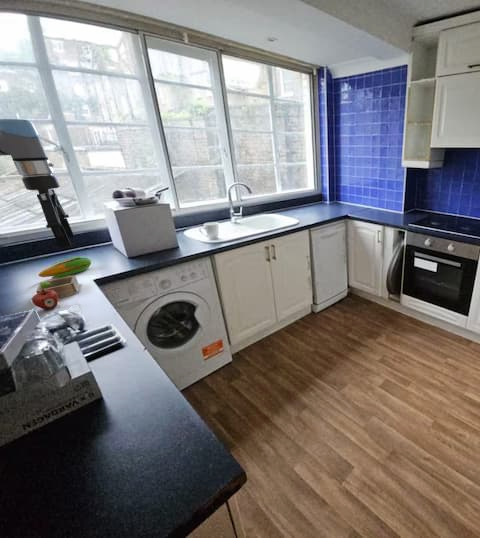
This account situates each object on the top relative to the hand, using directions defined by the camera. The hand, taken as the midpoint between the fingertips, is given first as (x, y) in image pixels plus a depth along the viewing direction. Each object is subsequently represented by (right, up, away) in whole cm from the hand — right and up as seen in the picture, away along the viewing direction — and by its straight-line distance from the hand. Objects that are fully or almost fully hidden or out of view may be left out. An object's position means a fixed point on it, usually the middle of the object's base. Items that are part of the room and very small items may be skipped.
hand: (67, 241), depth 98 cm
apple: (-22, -24, +16) cm, 37 cm away
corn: (-45, -12, +46) cm, 66 cm away
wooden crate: (-30, -19, +27) cm, 45 cm away
